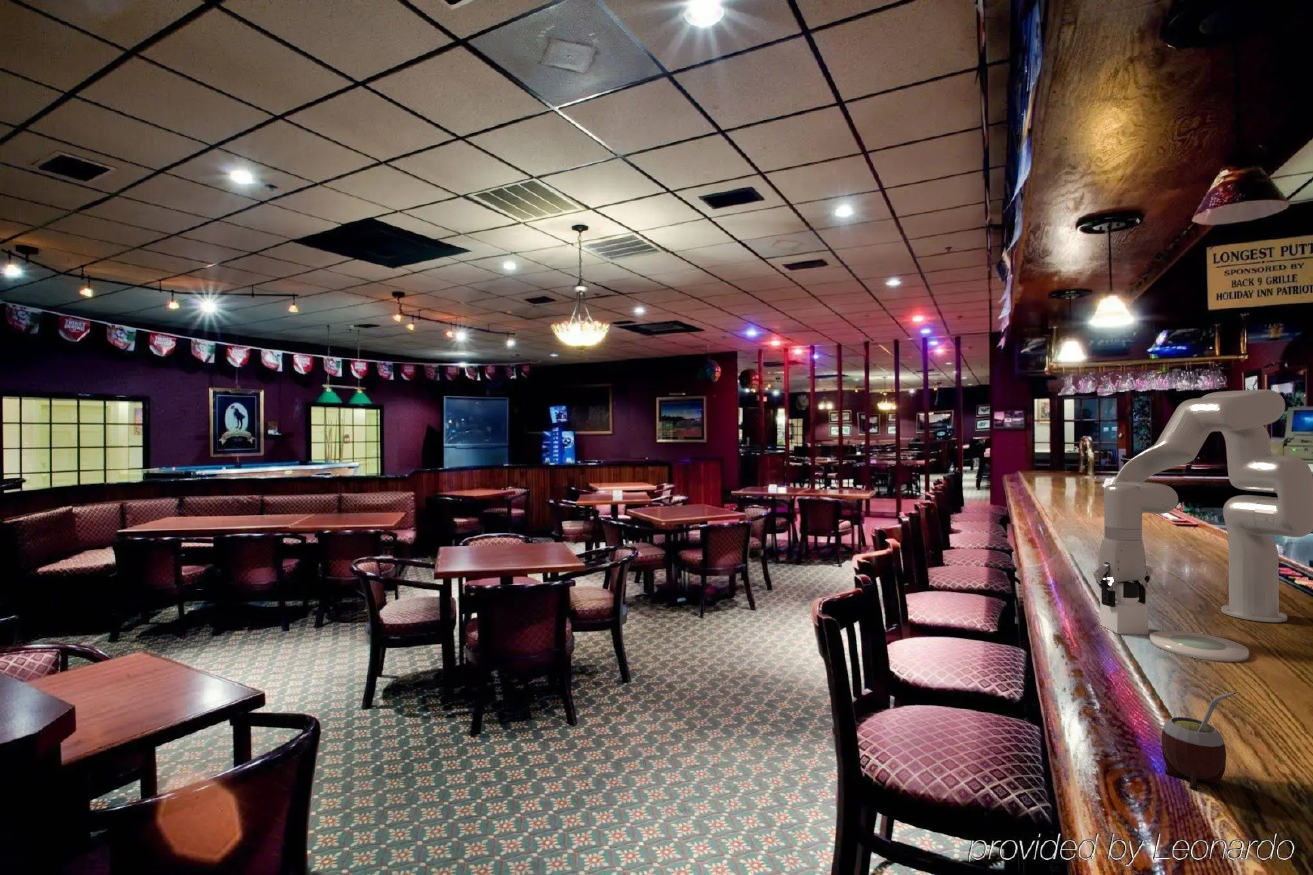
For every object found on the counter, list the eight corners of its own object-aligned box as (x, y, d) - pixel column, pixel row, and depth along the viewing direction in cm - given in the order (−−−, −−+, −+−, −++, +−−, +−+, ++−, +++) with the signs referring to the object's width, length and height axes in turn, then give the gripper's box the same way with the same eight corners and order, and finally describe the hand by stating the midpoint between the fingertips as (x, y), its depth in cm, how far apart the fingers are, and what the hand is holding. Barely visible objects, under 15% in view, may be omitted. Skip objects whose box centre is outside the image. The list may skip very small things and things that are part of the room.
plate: (1153, 631, 155) (1153, 625, 155) (1248, 646, 143) (1248, 640, 143) (1146, 649, 142) (1146, 643, 142) (1249, 667, 131) (1249, 661, 131)
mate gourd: (1161, 762, 95) (1161, 663, 95) (1232, 780, 90) (1232, 675, 90) (1161, 784, 89) (1160, 678, 89) (1236, 804, 84) (1236, 692, 84)
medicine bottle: (1129, 626, 159) (1129, 578, 159) (1149, 635, 152) (1148, 585, 152) (1099, 625, 160) (1099, 578, 159) (1117, 634, 152) (1117, 585, 152)
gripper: (1135, 530, 161) (1136, 597, 161) (1080, 534, 157) (1081, 603, 157) (1165, 535, 154) (1166, 605, 154) (1109, 538, 150) (1109, 611, 150)
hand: (1123, 604), depth 156 cm, fingers closed on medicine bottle, 8 cm apart
